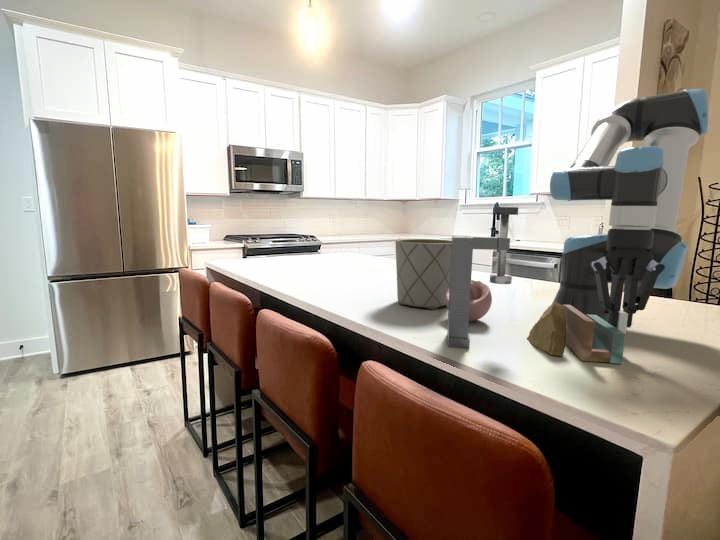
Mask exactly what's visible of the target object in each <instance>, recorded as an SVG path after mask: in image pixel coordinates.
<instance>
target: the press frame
mask: <svg viewBox="0 0 720 540" xmlns="http://www.w3.org/2000/svg"><path fill="white" fill-rule="evenodd" d="M451 241H452V247H451V268H450V289H449V309H448V308H447V310H448V311H447V313H448V315H447V331H446V332H447V335H446V336H447V347H448V348H458V349H470V345H471V343H470V341H471V339H470V335H469V322H470V321H469V308H470V290H471V280H472V271H473V269H472V268H473V255H474V254H473V251H474V250H494V251H499V250H507V251H510V249H511V248H510V247H511V246H510V245H511V238H510V237H508V238H500V236H471V235H451Z"/></svg>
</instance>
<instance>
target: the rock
mask: <svg viewBox="0 0 720 540" xmlns="http://www.w3.org/2000/svg"><path fill="white" fill-rule="evenodd" d="M526 340H527V341H529V343H530V344H531V345H533V346H534V347H536V348H538V349H540V350H541V351H543V352H547V354H549V355H551V356H558V357H563V355H564V353H565V348H566V344H565V341H566V320H565V312H564V307H563V306H562V305H561V304H559V303H558V302H556V301H555V302H553V301H552V303H551V305H549V306H548V307H547V308H546V309H545V311H544V312H543V313H542V315H540V317H539V320H537V322H535V324H534V325H533V326H532V328H531V329H530V331H529V334H528V336H527V337H526Z"/></svg>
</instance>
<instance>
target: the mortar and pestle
mask: <svg viewBox="0 0 720 540" xmlns="http://www.w3.org/2000/svg"><path fill="white" fill-rule="evenodd" d="M449 289H450V288H449ZM449 289H448V291H447V292H446V294H445V302H446V305H445V306H446V308H447V310H448V309H449ZM492 298H493V296H492V291H491V289H490V287H489V285H488V284H486V283H484V282H482V281H480V280H472V279H471V290H470V308H469V322H474V321H478V320H480V319H482V318H483V317H484V316H486V315H487V313H488V312H489V311H490V309H491V307H492V306H491V305H492V302H493V301H492V300H493V299H492Z"/></svg>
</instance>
